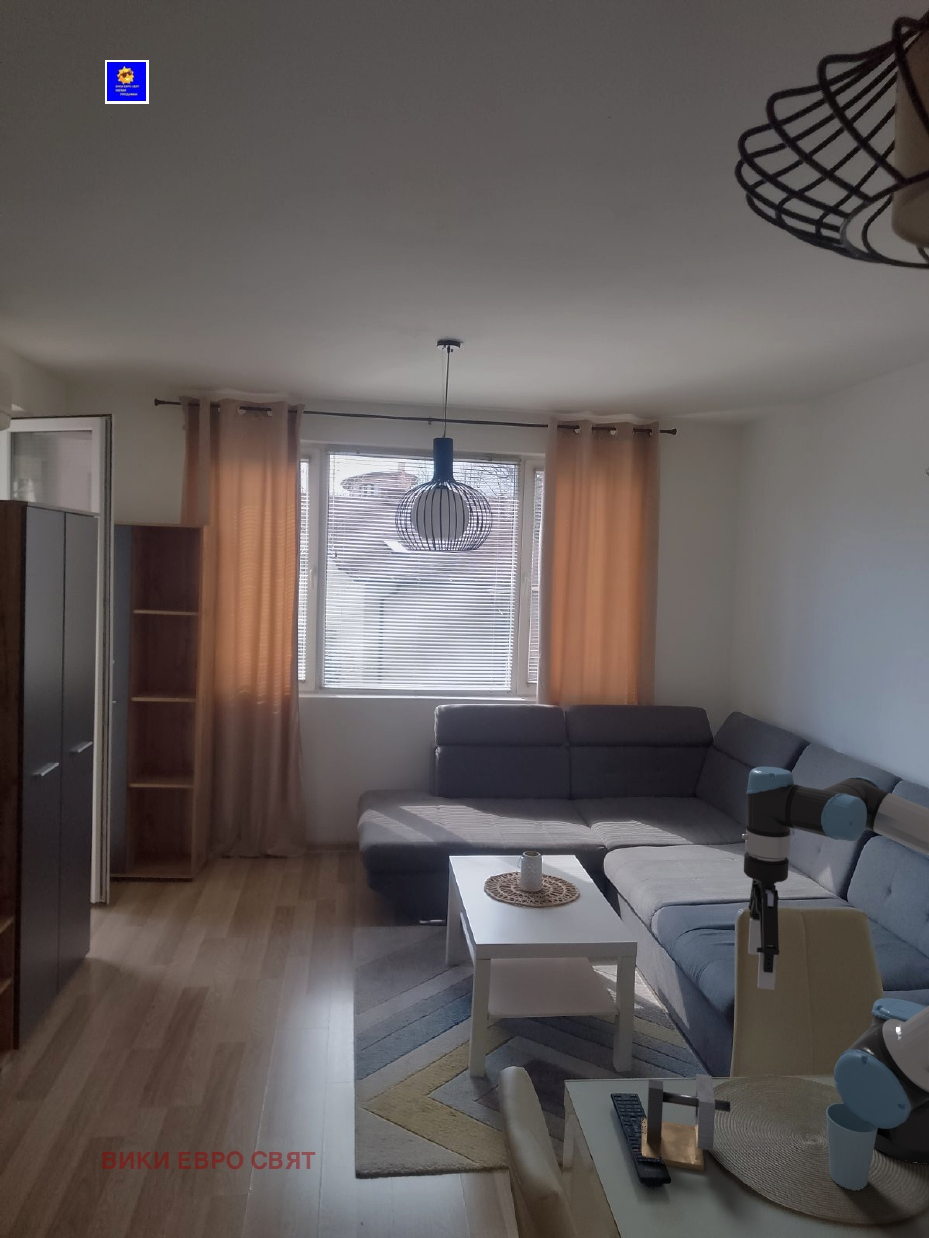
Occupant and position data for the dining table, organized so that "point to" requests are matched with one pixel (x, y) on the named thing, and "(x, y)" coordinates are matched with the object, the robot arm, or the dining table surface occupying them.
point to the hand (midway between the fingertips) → (760, 970)
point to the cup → (849, 1146)
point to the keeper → (672, 1130)
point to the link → (704, 1112)
